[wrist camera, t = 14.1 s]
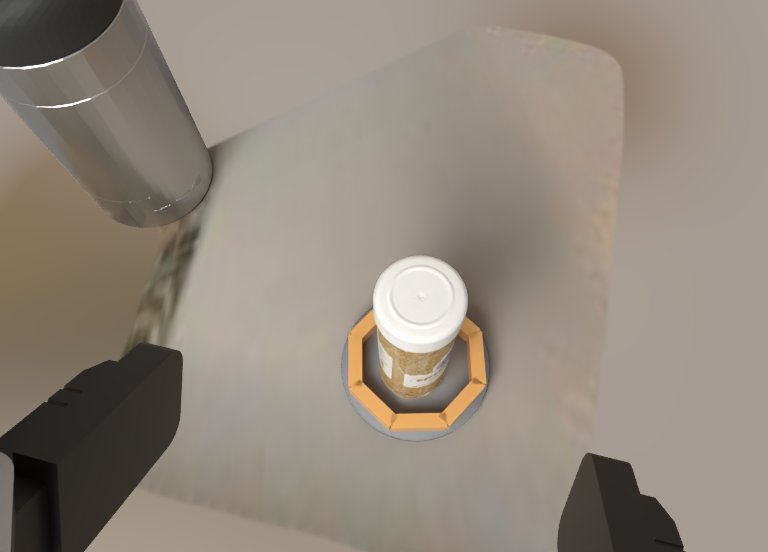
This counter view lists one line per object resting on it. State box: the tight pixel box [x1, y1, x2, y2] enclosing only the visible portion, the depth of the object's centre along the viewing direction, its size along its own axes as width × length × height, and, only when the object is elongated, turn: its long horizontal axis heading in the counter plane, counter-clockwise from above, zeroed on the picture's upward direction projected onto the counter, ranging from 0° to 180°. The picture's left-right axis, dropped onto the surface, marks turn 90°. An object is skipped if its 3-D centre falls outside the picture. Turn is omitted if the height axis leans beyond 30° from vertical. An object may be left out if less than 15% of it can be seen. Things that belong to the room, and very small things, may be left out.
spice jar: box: [373, 255, 468, 399], centre depth 35 cm, size 5×5×13 cm
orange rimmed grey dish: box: [341, 308, 489, 441], centre depth 41 cm, size 10×10×2 cm
